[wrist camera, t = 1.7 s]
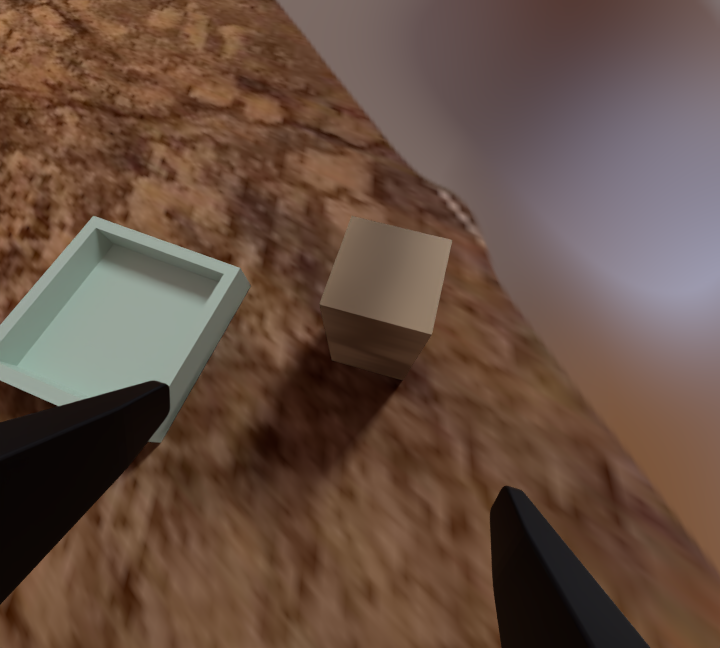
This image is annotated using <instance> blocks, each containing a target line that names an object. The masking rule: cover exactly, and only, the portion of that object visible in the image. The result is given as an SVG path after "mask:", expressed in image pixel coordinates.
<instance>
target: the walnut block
mask: <svg viewBox="0 0 720 648" xmlns="http://www.w3.org/2000/svg"><path fill="white" fill-rule="evenodd" d="M451 243H452V240H449V239H445V238H441V237H437V236H433V235H429V234H425V233H420V232H416V231H412V230H408V229H404V228H400V227H396V226H392V225H387V224H383V223H379V222H375V221H371V220H367V219H363V218H359V217H354V216H352V217H351V219H350V222H349V225H348V228H347V230H346V233H345V236H344V238H343V241H342V244H341V247H340V249H339V252H338V255H337V258H336V260H335V263H334V266H333V269H332V271H331V274H330V277H329V280H328V282H327V285H326V288H325V290H324V293H323V296H322V299H321V301H320V304H319V305H320V309H321V314H322V318H323V323H324V327H325V332H326V336H327V341H328V346H329V350H330V355H331V359H332V361H336V362H339V363H343V364H346V365H350V366H353V367H357V368H360V369H364V370H367V371H371V372H374V373H378V374H382V375H385V376H389V377H392V378H396V379H399V380H403V379H404V378H405V376H406V374H407V373H408V371H409V370H410V368H411V366H412V365H413V363H414V362H415V360H416V359H417V357H418V355H419V354H420V352H421V351H422V349H423V348H424V346H425V344H426V343H427V341H428V340H429V338H430V336H431V335H432V331H433V326H434V322H435V317H436V312H437V308H438V303H439V299H440V294H441V289H442V285H443V280H444V276H445V271H446V266H447V262H448V257H449V252H450V248H451Z"/></svg>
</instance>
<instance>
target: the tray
mask: <svg viewBox="0 0 720 648" xmlns="http://www.w3.org/2000/svg"><path fill="white" fill-rule="evenodd" d="M250 286H251V285H250V284H249V282H248V280H247V279H246V277H245V275H244V274H243V272H242V270H241V268H238V267H236V266H233V265H230V264H227V263H224V262H222V261H219V260H216V259H213V258H210V257H208V256H205V255H202V254H199V253H196V252H194V251H191V250H188V249H185V248H182V247H179V246H177V245H174V244H171V243H168V242H165V241H163V240H160V239H157V238H154V237H151V236H149V235H146V234H143V233H140V232H137V231H135V230H132V229H129V228H126V227H123V226H120V225H118V224H115V223H112V222H109V221H106V220H104V219H101V218H98V217H95V216H93V217H92V218H91V219H90V221H89V222H88V223H87V224H86V225H85V227H84V228H83V229H82V230H81V231H80V232H79V234H78V235H77V236H76V237H75V238H74V239H73V241H72V242H71V243H70V244H69V245H68V246H67V248H66V249H65V250H64V251H63V252H62V253H61V255H60V256H59V257H58V258H57V259H56V260H55V262H54V263H53V264H52V265H51V266H50V268H49V269H48V270H47V271H46V272H45V273H44V275H43V276H42V277H41V278H40V279H39V280H38V282H37V283H36V284H35V285H34V286H33V287H32V289H31V290H30V291H29V292H28V293H27V294H26V296H25V297H24V298H23V299H22V300H21V301H20V303H19V304H18V305H17V306H16V307H15V309H14V310H13V311H12V312H11V313H10V314H9V316H8V317H7V318H6V319H5V320H4V321H3V323H2V324H1V325H0V381H3V382H5V383H7V384H9V385H12V386H14V387H16V388H19V389H21V390H23V391H25V392H28V393H30V394H32V395H34V396H37V397H39V398H41V399H43V400H46V401H48V402H50V403H53V404H55V405H57V406H61V405H65V404H69V403H72V402H76V401H79V400H83V399H87V398H90V397H94V396H97V395H101V394H105V393H108V392H112V391H115V390H119V389H122V388H126V387H130V386H133V385H137V384H140V383H144V382H148V381H152V380H155V381H159V382H162V383H166V384H167V385H168V386H169V388H170V411H169V414H168V416H167V418H166V419H165V420H164V422H163V423H162V424H161V425H160V427H159V428H158V429H157V431H156V432H155V433H154V435H153V436H152V437H151V438H150V440H149V441H148V442H159V443H161V442H162V440H163V438H164V436H165V435H166V433H167V431H168V429H169V428H170V426H171V424H172V422H173V421H174V419H175V417H176V415H177V414H178V412H179V410H180V408H181V407H182V405H183V403H184V401H185V400H186V398H187V396H188V395H189V393H190V391H191V389H192V388H193V386H194V384H195V382H196V381H197V379H198V377H199V375H200V374H201V372H202V370H203V368H204V367H205V365H206V363H207V361H208V360H209V358H210V356H211V354H212V353H213V351H214V349H215V347H216V346H217V344H218V342H219V340H220V339H221V337H222V335H223V334H224V332H225V330H226V328H227V327H228V325H229V323H230V321H231V320H232V318H233V316H234V314H235V313H236V311H237V309H238V307H239V306H240V304H241V302H242V300H243V299H244V297H245V295H246V293H247V292H248V290H249V288H250Z"/></svg>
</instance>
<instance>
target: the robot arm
mask: <svg viewBox="0 0 720 648" xmlns="http://www.w3.org/2000/svg"><path fill="white" fill-rule="evenodd" d="M169 411H170V388H169V386H168V385H167V384H166V383H162V382H159V381H155V380H152V381H148V382H144V383H140V384H137V385H133V386H130V387H126V388H122V389H119V390H115V391H112V392H108V393H105V394H101V395H97V396H94V397H90V398H87V399H83V400H79V401H76V402H72V403H69V404H65V405H61V406H58V407H54V408H51V409H47V410H43V411H40V412H36V413H33V414H29V415H25V416H22V417H18V418H15V419H11V420H7V421H4V422H0V604H1V603H2V602H3V601H4V600H5V599H6V598H7V597H8V596H9V595H10V594H11V593H12V592H13V590H14V589H15V588H16V587H17V586H18V585H19V584H20V583H21V582H22V581H23V580H24V579H25V578H26V576H27V575H28V574H29V573H30V572H31V571H32V570H33V569H34V568H35V567H36V566H37V565H38V564H39V562H40V561H41V560H42V559H43V558H44V557H45V556H46V555H47V554H48V553H49V552H50V551H51V550H52V548H53V547H54V546H55V545H56V544H57V543H58V542H59V541H60V540H61V539H62V538H63V537H64V536H65V535H66V533H67V532H68V531H69V530H70V529H71V528H72V527H73V526H74V525H75V524H76V523H77V522H78V521H79V519H80V518H81V517H82V516H83V515H84V514H85V513H86V512H87V511H88V510H89V509H90V508H91V507H92V505H93V504H94V503H95V502H96V501H97V500H98V499H99V498H100V497H101V496H102V495H103V494H104V493H105V491H106V490H107V489H108V488H109V487H110V486H111V485H112V484H113V483H114V482H115V481H116V480H117V479H118V477H119V476H120V475H121V474H122V473H123V472H124V471H125V470H126V469H127V468H128V466H129V465H130V464H131V463H132V462H133V460H134V459H135V458H136V457H137V455H138V454H139V453H140V451H141V450H142V449H143V447H144V446H145V445H146V444H147V442H148V441H149V440H150V438H151V437H152V436H153V435H154V433H155V432H156V431H157V429H158V428H159V427H160V425H161V424H162V423H163V422H164V420H165V419H166V418H167V416H168V414H169ZM490 532H491V556H492V578H493V589H494V598H495V605H496V612H497V619H498V626H499V633H500V640H501V647H502V648H650V647H649V645H648V644H647V643H646V642H645V641H644V639H643V638H642V637H641V636H640V634H639V633H638V632H637V631H636V629H635V628H634V627H633V626H632V625H631V623H630V622H629V621H628V620H627V618H626V617H625V616H624V615H623V614H622V612H621V611H620V610H619V609H618V607H617V606H616V605H615V604H614V602H613V601H612V600H611V599H610V598H609V596H608V595H607V594H606V593H605V591H604V590H603V589H602V588H601V587H600V585H599V584H598V583H597V582H596V580H595V579H594V578H593V577H592V575H591V574H590V573H589V572H588V571H587V569H586V568H585V567H584V566H583V564H582V563H581V562H580V561H579V560H578V558H577V557H576V556H575V555H574V553H573V552H572V551H571V550H570V548H569V547H568V546H567V545H566V544H565V542H564V541H563V540H562V539H561V537H560V536H559V535H558V534H557V532H556V531H555V530H554V529H553V528H552V526H551V525H550V524H549V523H548V521H547V520H546V519H545V518H544V517H543V515H542V514H541V513H540V512H539V510H538V509H537V508H536V507H535V505H534V504H533V503H532V502H531V501H530V499H529V498H528V497H527V496H526V494H525V493H524V492H523V491H522V490H520V489H516V488H513V487H510V486H504V487H503V488H502V489H501V491H500V492H499V494H498V496H497V498H496V500H495V502H494V504H493V506H492V508H491V511H490Z"/></svg>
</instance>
